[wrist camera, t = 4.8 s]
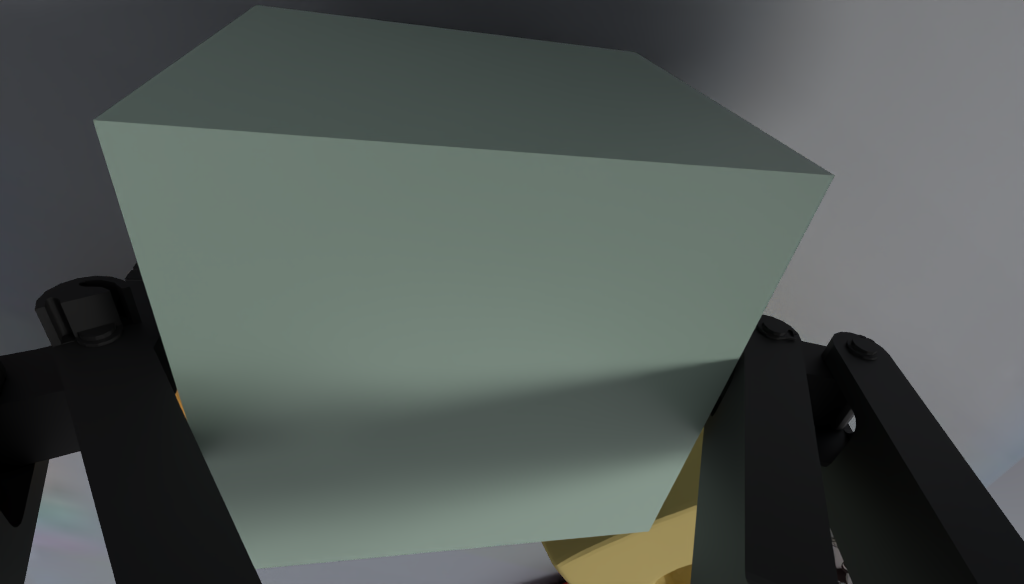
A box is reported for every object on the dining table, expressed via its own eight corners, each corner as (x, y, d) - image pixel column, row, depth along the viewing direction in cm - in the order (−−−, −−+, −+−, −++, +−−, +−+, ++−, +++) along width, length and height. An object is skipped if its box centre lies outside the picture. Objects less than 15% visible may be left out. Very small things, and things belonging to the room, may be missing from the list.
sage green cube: (256, 4, 13) (91, 120, 6) (635, 52, 15) (834, 175, 8) (294, 324, 19) (233, 570, 12) (565, 324, 21) (649, 531, 14)
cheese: (720, 404, 32) (836, 570, 24) (558, 476, 32) (616, 659, 24) (687, 281, 25) (828, 450, 17) (487, 375, 26) (534, 576, 18)
